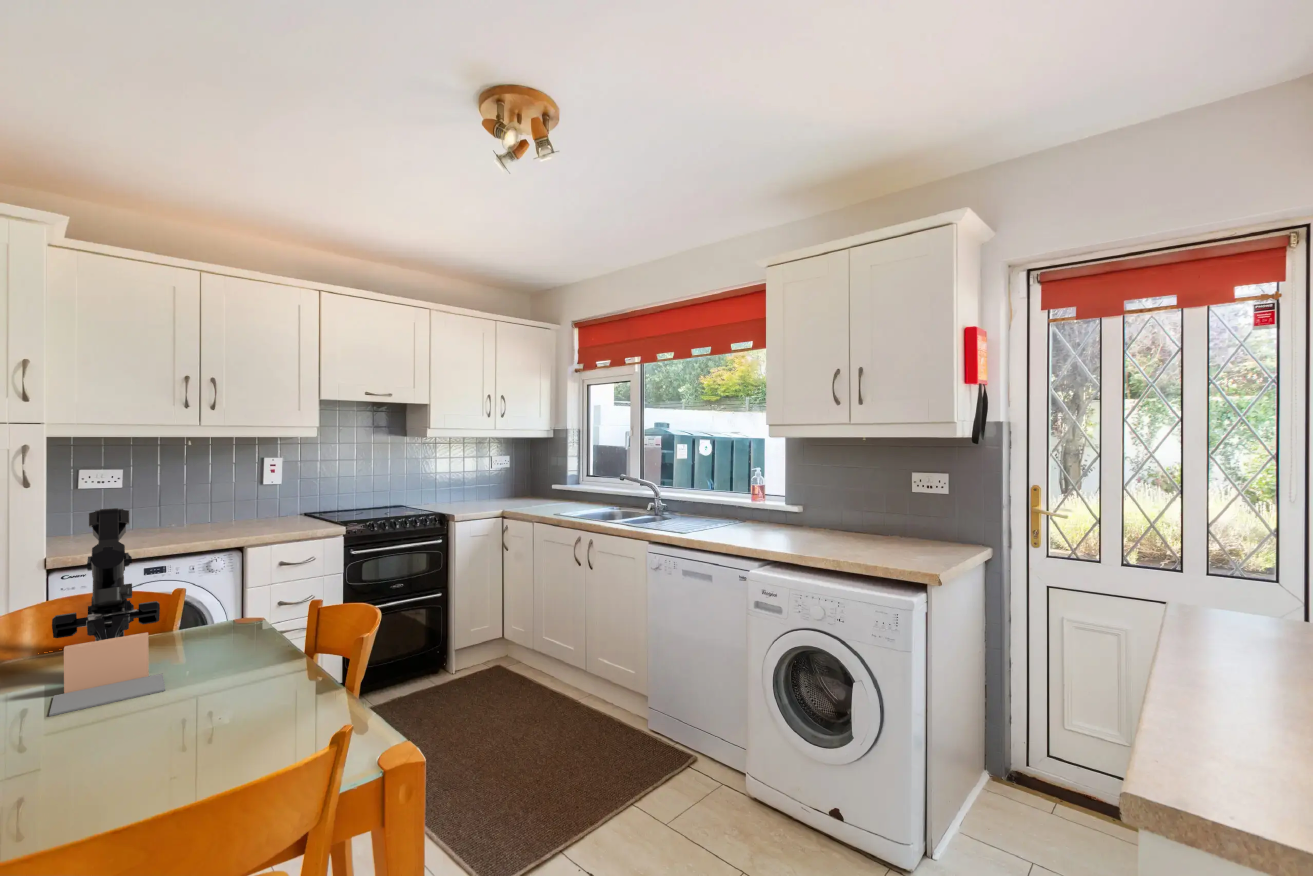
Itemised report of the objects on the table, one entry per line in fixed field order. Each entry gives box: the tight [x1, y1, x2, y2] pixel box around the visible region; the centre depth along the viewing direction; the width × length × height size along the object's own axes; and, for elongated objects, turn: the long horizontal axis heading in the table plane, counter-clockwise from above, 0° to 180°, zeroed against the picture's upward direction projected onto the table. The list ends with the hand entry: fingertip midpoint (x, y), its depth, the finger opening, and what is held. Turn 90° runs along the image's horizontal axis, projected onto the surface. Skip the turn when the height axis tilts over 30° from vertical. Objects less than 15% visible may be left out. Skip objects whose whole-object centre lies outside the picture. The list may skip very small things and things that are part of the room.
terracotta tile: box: [63, 632, 150, 694], centre depth 136 cm, size 2×14×10 cm, turn 132°
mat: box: [48, 673, 166, 717], centre depth 131 cm, size 12×18×1 cm, turn 132°
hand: (108, 650), depth 139 cm, fingers closed
